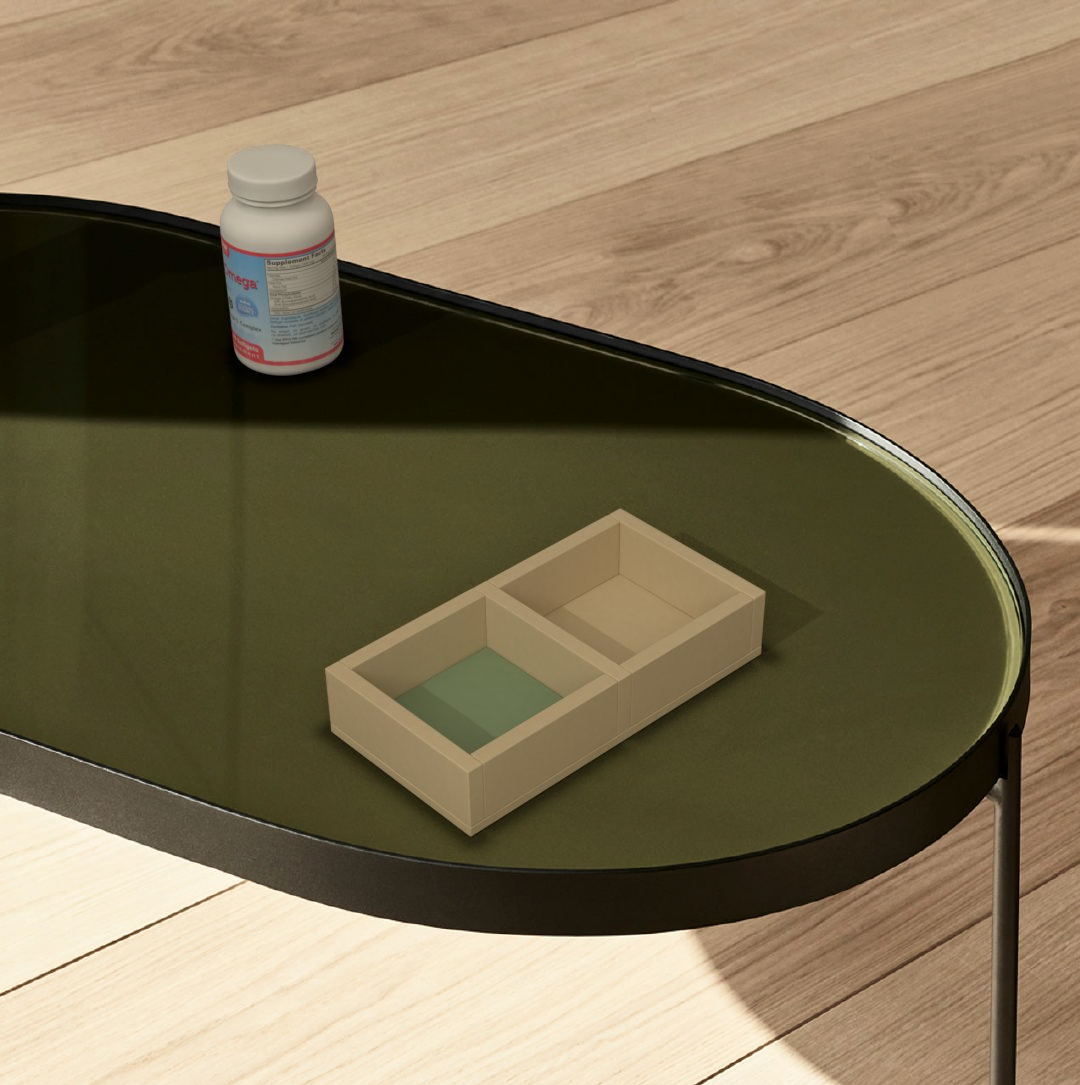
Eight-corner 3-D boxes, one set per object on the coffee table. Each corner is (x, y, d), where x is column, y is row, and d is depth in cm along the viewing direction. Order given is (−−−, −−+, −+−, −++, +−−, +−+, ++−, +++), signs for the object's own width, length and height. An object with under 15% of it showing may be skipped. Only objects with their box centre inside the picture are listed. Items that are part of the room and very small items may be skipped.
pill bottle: (224, 337, 111) (200, 147, 103) (328, 318, 112) (311, 130, 105) (249, 388, 106) (225, 194, 99) (357, 368, 108) (342, 175, 101)
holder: (470, 837, 79) (467, 772, 77) (330, 731, 84) (324, 668, 82) (761, 654, 88) (766, 591, 86) (619, 568, 93) (620, 507, 91)
